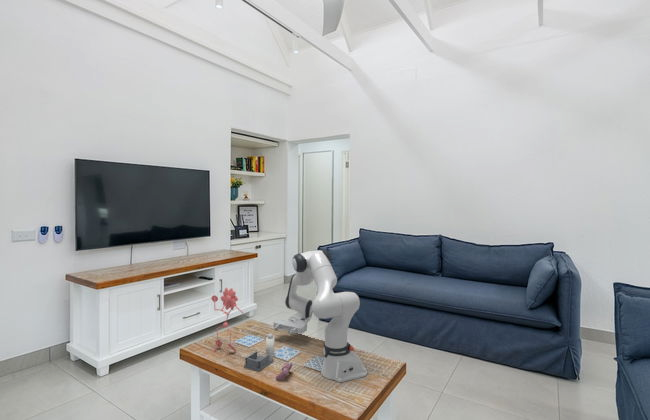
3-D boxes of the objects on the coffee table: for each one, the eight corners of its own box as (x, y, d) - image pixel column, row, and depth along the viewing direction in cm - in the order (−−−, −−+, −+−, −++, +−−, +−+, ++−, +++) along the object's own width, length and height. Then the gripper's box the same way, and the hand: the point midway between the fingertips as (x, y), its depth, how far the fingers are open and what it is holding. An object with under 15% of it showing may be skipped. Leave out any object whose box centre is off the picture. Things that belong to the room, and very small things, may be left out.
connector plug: (273, 354, 177) (274, 332, 177) (274, 357, 173) (274, 335, 173) (265, 354, 176) (265, 333, 176) (266, 358, 172) (266, 336, 172)
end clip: (258, 357, 173) (258, 348, 173) (273, 361, 169) (273, 352, 169) (243, 367, 163) (244, 358, 162) (259, 371, 158) (259, 362, 158)
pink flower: (235, 360, 169) (237, 293, 170) (203, 348, 183) (204, 287, 183) (256, 350, 183) (257, 288, 183) (224, 339, 196) (225, 282, 196)
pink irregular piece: (282, 385, 150) (289, 372, 149) (274, 379, 151) (281, 367, 150) (289, 374, 160) (295, 362, 159) (281, 369, 160) (287, 357, 160)
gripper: (280, 314, 203) (267, 322, 190) (309, 320, 194) (297, 328, 181) (280, 324, 203) (267, 332, 190) (309, 331, 194) (297, 339, 182)
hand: (282, 330), depth 186 cm, fingers open, 8 cm apart
